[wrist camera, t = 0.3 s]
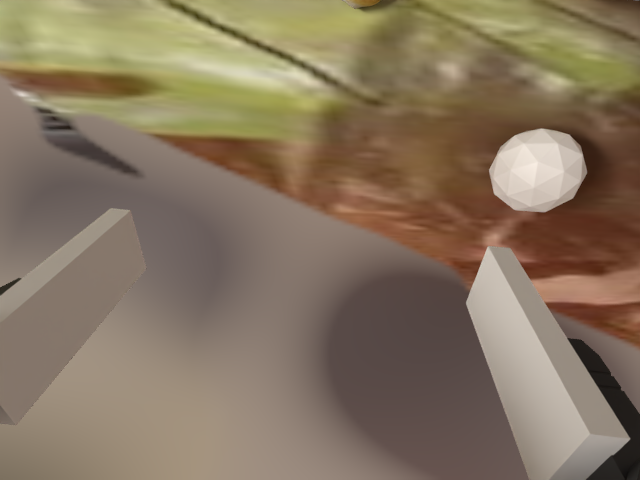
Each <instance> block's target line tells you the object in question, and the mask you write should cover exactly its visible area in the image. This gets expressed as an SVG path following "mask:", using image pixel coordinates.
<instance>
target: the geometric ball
mask: <svg viewBox="0 0 640 480" xmlns="http://www.w3.org/2000/svg"><path fill="white" fill-rule="evenodd" d="M489 173H490V177H491V182H492V187H493V191H494V194H495V195H496V196H497V197H499V198H500V199H501V200H503V201H504V202H505V203H506V204H508V205H509V206H510V207H512V208H513V209H514V210H521V211H534V212H546V211H548V210H550V209H552V208H554V207H556V206H558V205H560V204H562V203H565V202H567V201H569V200H571V199H573V198H574V196H575V194H576V192H577V190H578V189H579V187H580V185H581V183H582V181H583V180H584V178H585V176H586V174H587V169H586V165H585V161H584V157H583V153H582V149H581V146H580V145H579V144H578V143H577V142H576V141H575V140H574V139H573V138H572V137H571V136H570V135H569V134H566V133H562V132H559V131H556V130H549V129H543V128H542V129H536V130H531V131H526V132H523V133H520V134H518V135H515V136H513V137H512V138H511V139H510V140H508V141H507V142H506V143H505V144H503V145H502V146H501V147H500V149H499V151H498V153H497V155H496V157H495V159H494V161H493V163H492V165H491V167H490V169H489Z"/></svg>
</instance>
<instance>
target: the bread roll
mask: <svg viewBox="0 0 640 480" xmlns="http://www.w3.org/2000/svg"><path fill="white" fill-rule="evenodd" d="M342 1H345V2H346V3H347V4H348V5H349V6H351V7H353V8H354V9H356V8H359V7H366V6H372V5H375V4H377V3H378V2H380V1H381V0H342Z"/></svg>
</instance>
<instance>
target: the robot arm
mask: <svg viewBox="0 0 640 480" xmlns="http://www.w3.org/2000/svg"><path fill="white" fill-rule="evenodd" d="M145 270H146V265H145V261H144V258H143V254H142V250H141V247H140V243H139V239H138V236H137V232H136V228H135V225H134V221H133V218H132V214H131V211H130V210H122V209H112V208H111V209H110V210H108V211H107V212H106V213H105V214H103V215H102V216H101V217H99V218H98V219H97V220H96V221H94V222H93V223H92V224H91V225H89V226H88V227H87V228H85V229H84V230H83V231H82V232H80V233H79V234H78V235H77V236H75V237H74V238H73V239H71V240H70V241H69V242H68V243H66V244H65V245H64V246H63V247H61V248H60V249H59V250H58V251H56V252H55V253H54V254H53V255H51V256H50V257H49V258H47V259H46V260H45V261H44V262H42V263H41V264H40V265H39V266H37V267H36V268H35V269H33V270H32V271H31V272H30V273H29V274H27V275H26V276H25V277H24V278H22V279H21V278H18V279H16V280H14V281H12V282H10V283H8V284H6V285H4V286H2V287H0V423H2V424H9V425H17V424H18V422H19V421H20V420H21V419H22V417H23V416H24V415H25V414H26V413H27V412H28V410H29V409H30V408H31V407H32V406H33V404H34V403H35V402H36V401H37V400H38V398H39V397H40V396H41V395H42V394H43V392H44V391H45V390H46V389H47V388H48V386H49V385H50V384H51V383H52V382H53V380H54V379H55V378H56V377H57V376H58V374H59V373H60V372H61V371H62V369H63V368H64V367H65V366H66V365H67V364H68V362H69V361H70V360H71V359H72V358H73V356H74V355H75V354H76V353H77V351H78V350H79V349H80V348H81V346H82V345H83V344H84V343H85V342H86V341H87V339H88V338H89V337H90V336H91V335H92V333H93V332H94V331H95V330H96V329H97V327H98V326H99V325H100V324H101V323H102V321H103V320H104V319H105V318H106V316H107V315H108V314H109V313H110V312H111V311H112V309H113V308H114V307H115V306H116V304H117V303H118V302H119V301H120V300H121V299H122V297H123V296H124V295H125V294H126V293H127V291H128V290H129V289H130V288H131V287H132V285H133V284H134V283H135V282H136V281H137V279H138V278H139V277H140V276H141V275H142V273H143V272H144V271H145ZM466 305H467V307H468V310H469V313H470V316H471V318H472V321H473V323H474V327H475V330H476V332H477V335H478V338H479V341H480V343H481V346H482V349H483V351H484V354H485V357H486V360H487V363H488V366H489V368H490V371H491V374H492V376H493V379H494V382H495V385H496V388H497V390H498V393H499V396H500V399H501V401H502V404H503V407H504V410H505V413H506V415H507V418H508V421H509V424H510V426H511V429H512V432H513V435H514V438H515V440H516V443H517V446H518V449H519V452H520V454H521V457H522V460H523V463H524V465H525V468H526V471H527V474H528V476H529V479H530V480H640V414H639V413H638V411H637V410H636V408H635V407H634V405H633V404H632V403H631V401H630V400H629V398H628V397H627V395H626V394H625V392H624V391H621V387H620V385H619V384H618V382H617V381H616V380H615V378H614V377H613V376H611V372H610V371H609V369H608V368H607V366H606V365H605V364H604V362H603V361H602V359H601V358H600V356H599V355H598V354H597V353H595V352H594V351H593V350H592V349H591V348H590V347H589V346H588V345H586V344H585V343H584V342H583V341H582V340H579V339H570V338H566V336H565V334H564V333H563V331H562V330H561V328H560V326H559V325H558V323H557V322H556V320H555V319H554V317H553V315H552V314H551V312H550V311H549V309H548V307H547V306H546V304H545V303H544V301H543V299H542V298H541V296H540V295H539V293H538V292H537V290H536V288H535V287H534V285H533V284H532V282H531V280H530V279H529V277H528V276H527V274H526V273H525V271H524V269H523V268H522V266H521V265H520V263H519V261H518V260H517V258H516V257H515V255H514V253H513V252H512V250H511V249H510V248H503V247H493V246H488V248H487V250H486V253H485V255H484V258H483V261H482V263H481V266H480V268H479V271H478V273H477V276H476V279H475V281H474V284H473V286H472V289H471V291H470V294H469V296H468V299H467V302H466Z"/></svg>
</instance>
